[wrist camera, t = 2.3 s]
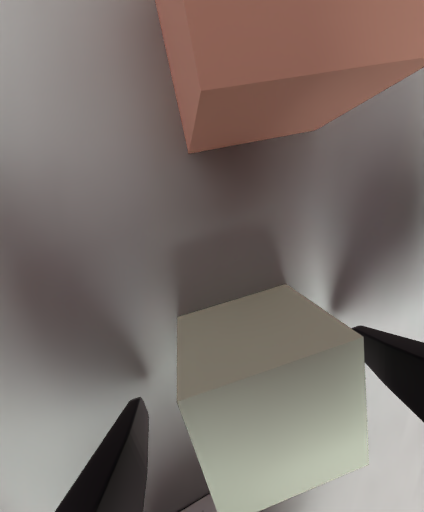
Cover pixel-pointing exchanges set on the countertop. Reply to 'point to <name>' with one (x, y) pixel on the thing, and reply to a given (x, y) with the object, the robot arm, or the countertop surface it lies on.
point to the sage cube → (271, 397)
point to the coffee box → (202, 505)
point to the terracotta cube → (283, 62)
